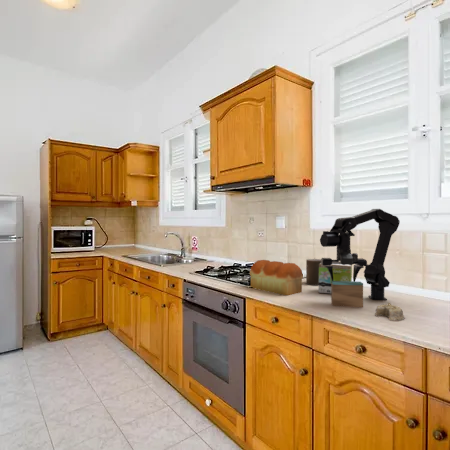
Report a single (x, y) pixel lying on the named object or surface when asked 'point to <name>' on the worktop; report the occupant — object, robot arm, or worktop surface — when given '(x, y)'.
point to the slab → (347, 293)
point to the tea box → (339, 274)
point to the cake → (390, 312)
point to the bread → (276, 277)
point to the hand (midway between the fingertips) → (343, 281)
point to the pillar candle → (312, 271)
